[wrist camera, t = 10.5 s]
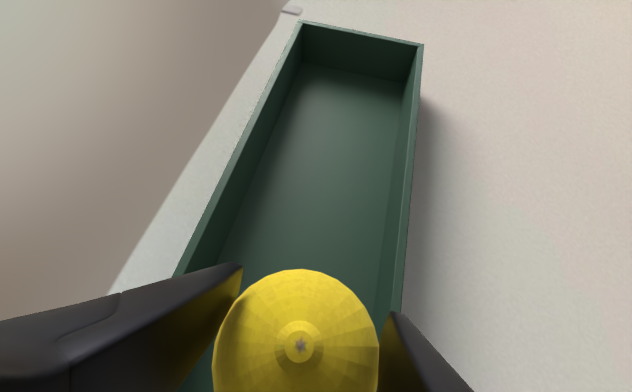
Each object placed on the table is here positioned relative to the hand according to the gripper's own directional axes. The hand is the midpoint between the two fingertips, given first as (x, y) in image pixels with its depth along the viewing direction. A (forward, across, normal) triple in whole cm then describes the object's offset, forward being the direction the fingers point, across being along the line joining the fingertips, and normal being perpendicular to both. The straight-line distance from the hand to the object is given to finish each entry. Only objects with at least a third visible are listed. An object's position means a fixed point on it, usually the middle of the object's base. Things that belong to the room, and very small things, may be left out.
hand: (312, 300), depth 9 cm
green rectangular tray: (+17, +2, +1) cm, 18 cm away
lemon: (+4, 0, +6) cm, 7 cm away
